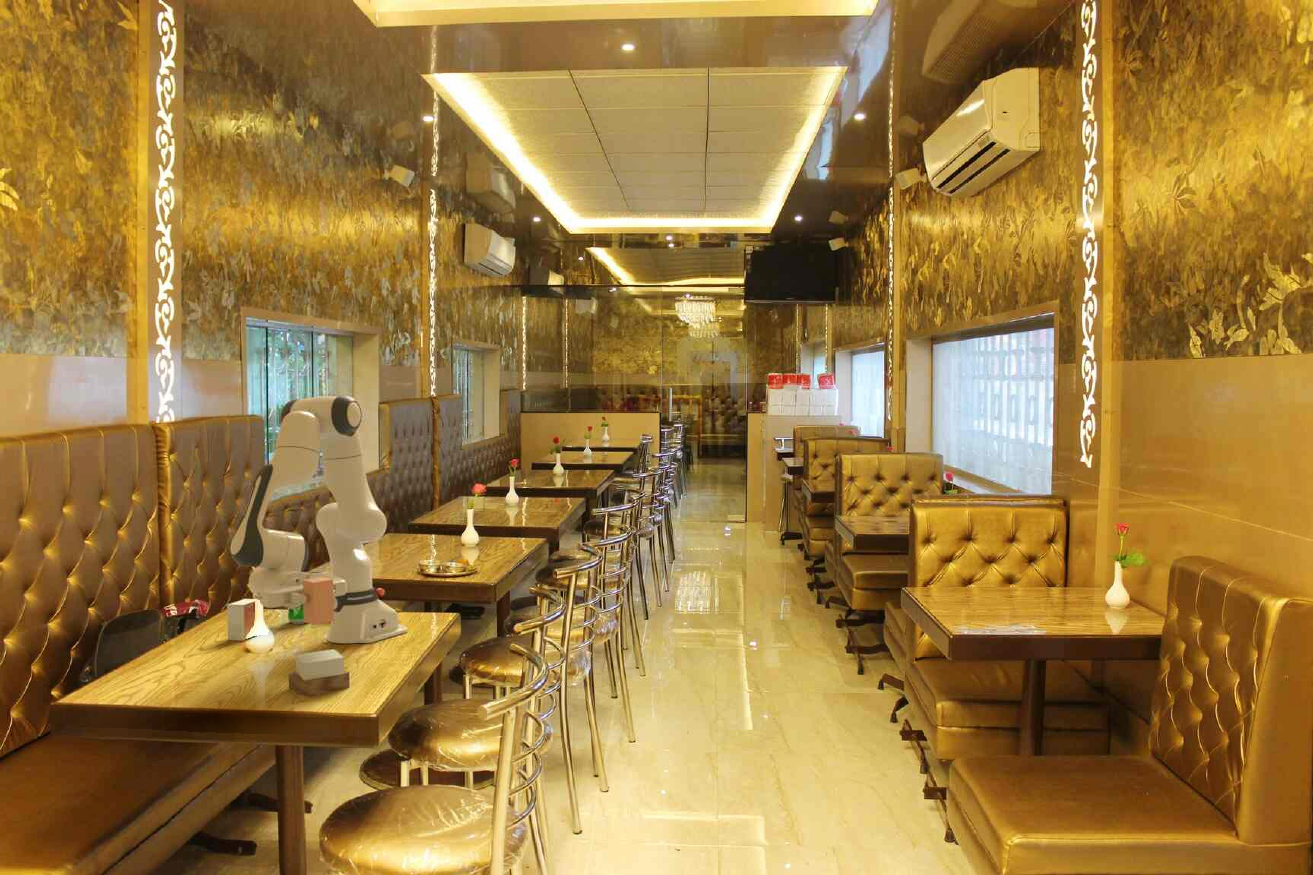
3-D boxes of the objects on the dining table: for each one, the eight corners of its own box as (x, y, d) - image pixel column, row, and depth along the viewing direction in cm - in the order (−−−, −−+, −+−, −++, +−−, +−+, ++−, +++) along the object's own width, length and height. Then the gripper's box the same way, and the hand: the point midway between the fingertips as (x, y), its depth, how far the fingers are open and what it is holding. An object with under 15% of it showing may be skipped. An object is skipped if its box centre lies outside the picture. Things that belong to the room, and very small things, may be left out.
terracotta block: (323, 617, 223) (322, 576, 222) (333, 620, 219) (333, 579, 219) (303, 621, 219) (302, 579, 219) (314, 624, 216) (313, 582, 215)
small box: (244, 641, 263) (243, 604, 263) (227, 640, 264) (226, 604, 264) (261, 634, 271) (261, 598, 270) (245, 633, 272) (244, 598, 272)
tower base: (328, 680, 227) (327, 664, 227) (349, 688, 220) (349, 672, 220) (289, 690, 219) (288, 673, 219) (310, 699, 213) (309, 681, 212)
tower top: (334, 665, 226) (334, 649, 226) (343, 674, 218) (343, 657, 218) (296, 671, 221) (295, 654, 221) (304, 680, 213) (303, 663, 213)
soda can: (292, 619, 289) (292, 581, 289) (317, 618, 290) (316, 581, 289) (285, 625, 282) (284, 586, 281) (310, 624, 282) (309, 585, 282)
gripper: (249, 583, 220) (277, 590, 211) (328, 570, 235) (358, 577, 226) (250, 609, 220) (278, 617, 211) (329, 595, 235) (358, 602, 226)
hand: (320, 596), depth 218 cm, fingers closed on terracotta block, 5 cm apart
